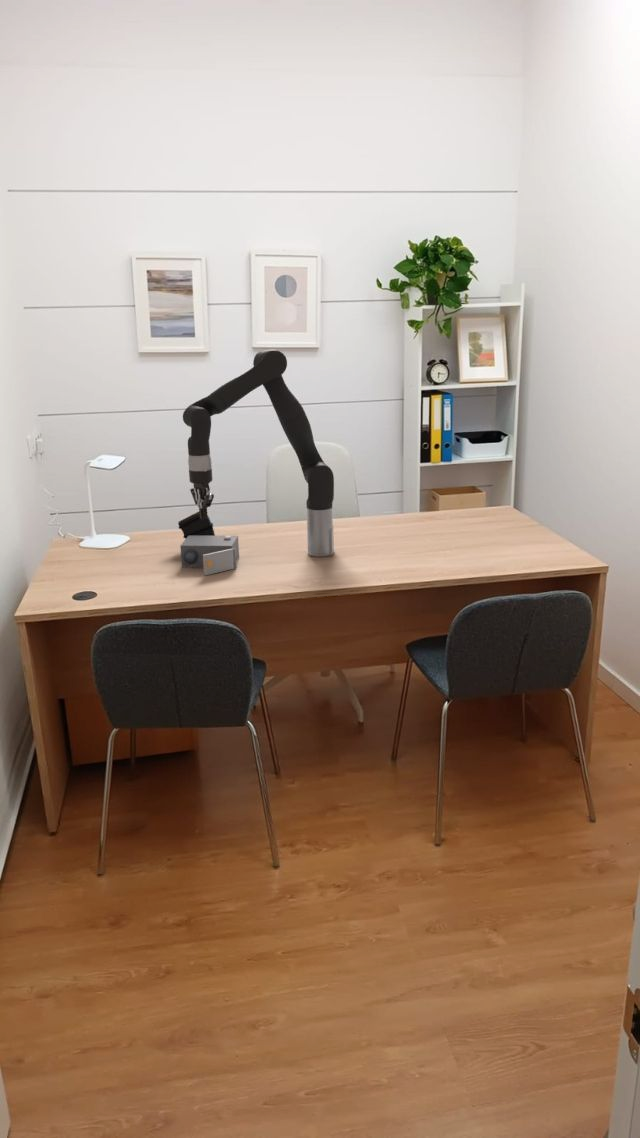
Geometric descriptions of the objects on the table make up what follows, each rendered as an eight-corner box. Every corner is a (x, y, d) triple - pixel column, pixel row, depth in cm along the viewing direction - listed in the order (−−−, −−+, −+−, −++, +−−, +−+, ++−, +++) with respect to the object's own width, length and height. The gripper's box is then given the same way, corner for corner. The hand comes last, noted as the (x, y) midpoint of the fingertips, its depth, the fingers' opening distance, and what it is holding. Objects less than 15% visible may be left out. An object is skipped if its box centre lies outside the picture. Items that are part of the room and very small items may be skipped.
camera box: (239, 556, 308) (237, 533, 305) (232, 569, 295) (230, 544, 292) (190, 556, 309) (188, 533, 306) (180, 568, 297) (179, 544, 294)
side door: (235, 567, 296) (234, 547, 294) (237, 568, 295) (236, 549, 292) (204, 574, 290) (202, 554, 287) (206, 575, 288) (204, 555, 286)
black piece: (224, 545, 316) (204, 510, 311) (193, 561, 317) (172, 526, 312) (224, 542, 319) (205, 507, 315) (193, 558, 321) (173, 524, 316)
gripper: (180, 466, 284) (184, 516, 290) (199, 472, 274) (202, 524, 280) (201, 462, 288) (204, 512, 294) (219, 469, 278) (223, 520, 284)
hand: (203, 518), depth 287 cm, fingers closed
